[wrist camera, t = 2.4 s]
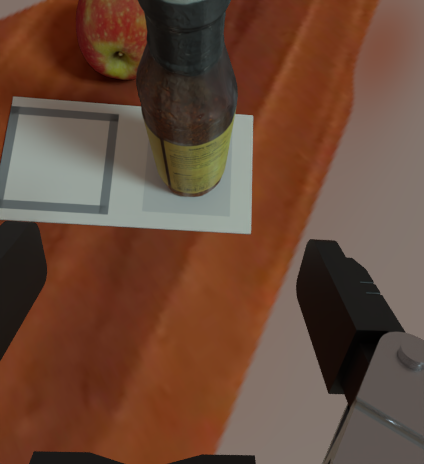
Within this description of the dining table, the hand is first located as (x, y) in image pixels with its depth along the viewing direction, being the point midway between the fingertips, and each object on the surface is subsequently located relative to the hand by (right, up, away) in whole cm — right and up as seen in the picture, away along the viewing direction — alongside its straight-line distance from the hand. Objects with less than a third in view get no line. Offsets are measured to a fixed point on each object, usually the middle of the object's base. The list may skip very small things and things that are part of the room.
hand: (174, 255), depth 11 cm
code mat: (-7, +7, +22) cm, 24 cm away
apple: (-7, +18, +25) cm, 32 cm away
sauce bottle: (-1, +7, +22) cm, 23 cm away
